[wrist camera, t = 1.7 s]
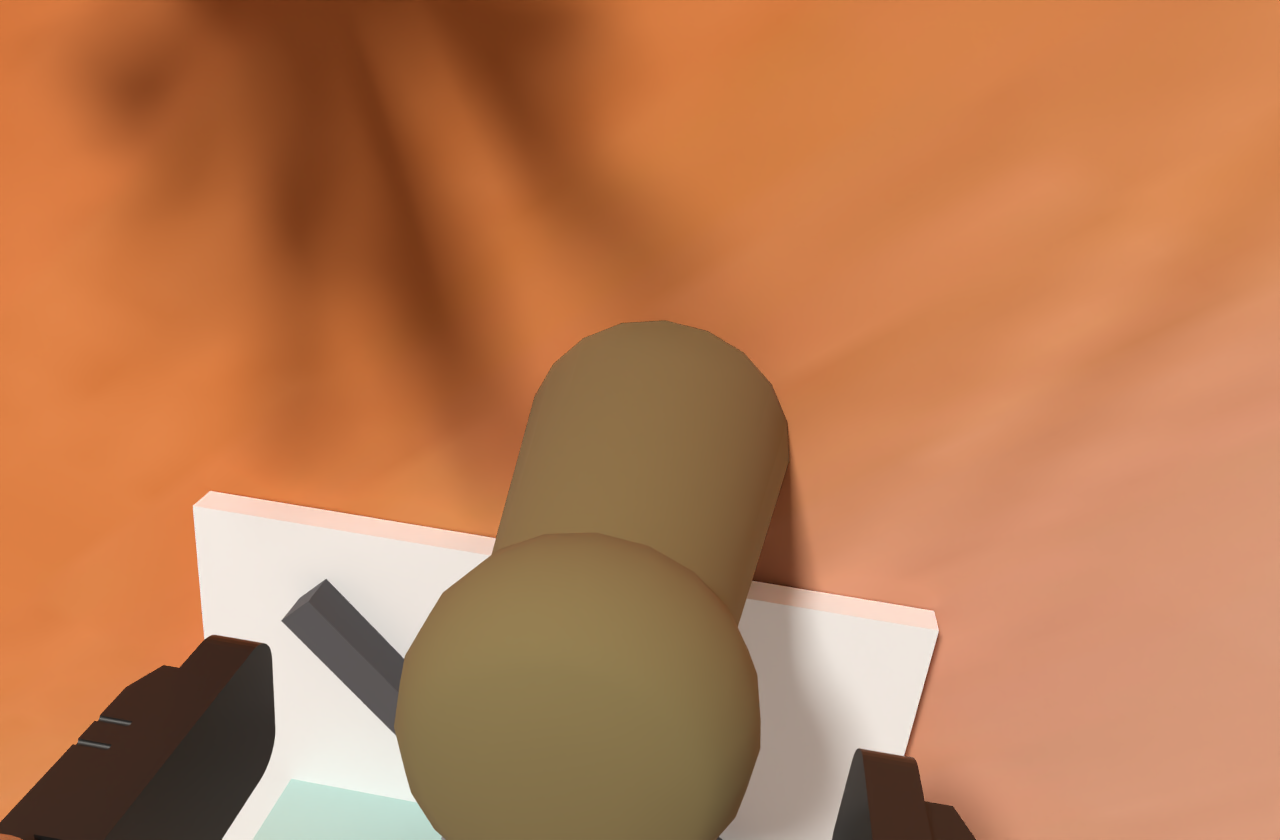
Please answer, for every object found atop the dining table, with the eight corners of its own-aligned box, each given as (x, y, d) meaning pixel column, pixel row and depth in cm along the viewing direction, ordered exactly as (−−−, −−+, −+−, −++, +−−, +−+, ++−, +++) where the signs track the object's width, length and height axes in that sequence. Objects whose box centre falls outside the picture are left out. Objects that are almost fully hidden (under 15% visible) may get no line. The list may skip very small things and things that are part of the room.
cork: (673, 604, 24) (594, 1032, 14) (478, 453, 23) (245, 795, 13) (846, 438, 22) (897, 808, 12) (637, 263, 21) (500, 505, 11)
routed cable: (837, 936, 27) (839, 970, 26) (748, 987, 28) (747, 1021, 27) (363, 533, 24) (346, 555, 23) (286, 610, 25) (267, 634, 24)
